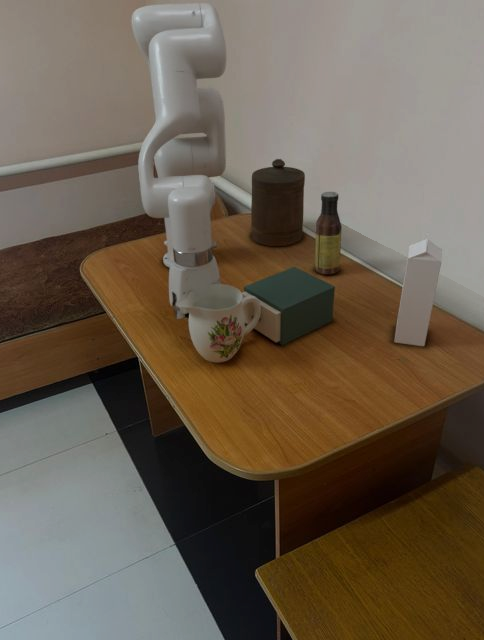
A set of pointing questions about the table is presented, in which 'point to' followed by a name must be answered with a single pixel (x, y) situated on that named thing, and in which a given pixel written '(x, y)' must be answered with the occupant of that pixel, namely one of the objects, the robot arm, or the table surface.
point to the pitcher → (219, 321)
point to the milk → (418, 292)
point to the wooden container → (277, 205)
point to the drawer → (264, 318)
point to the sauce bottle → (328, 236)
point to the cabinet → (296, 301)
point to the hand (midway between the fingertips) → (199, 334)
